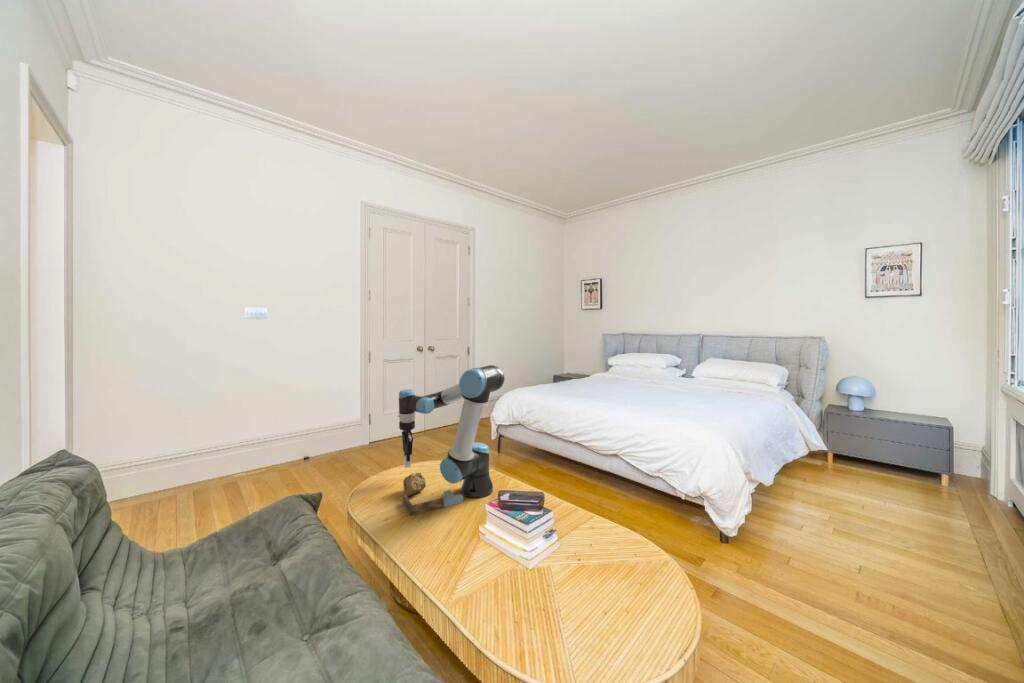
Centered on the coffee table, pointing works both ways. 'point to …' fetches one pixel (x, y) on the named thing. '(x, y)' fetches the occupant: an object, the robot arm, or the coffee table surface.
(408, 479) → the rock
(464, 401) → the robot arm
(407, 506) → the brown l-shaped block
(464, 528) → the coffee table surface
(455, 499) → the t block
